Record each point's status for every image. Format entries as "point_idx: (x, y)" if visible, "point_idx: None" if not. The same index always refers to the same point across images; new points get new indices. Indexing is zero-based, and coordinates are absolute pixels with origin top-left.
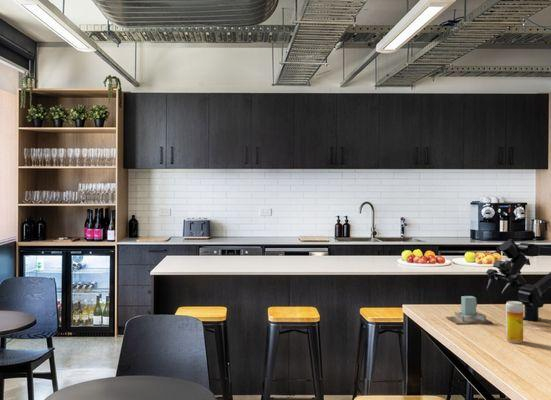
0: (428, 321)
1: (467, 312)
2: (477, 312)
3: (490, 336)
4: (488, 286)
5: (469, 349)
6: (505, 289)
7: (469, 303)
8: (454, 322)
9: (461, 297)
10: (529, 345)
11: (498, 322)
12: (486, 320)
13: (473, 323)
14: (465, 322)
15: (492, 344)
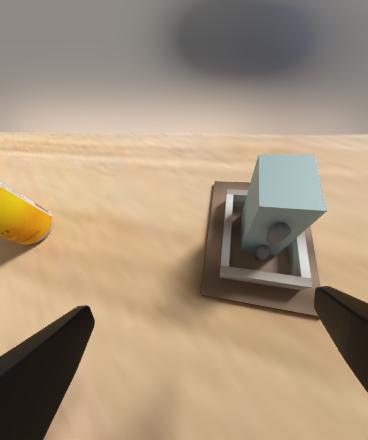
0: (260, 139)
1: (245, 206)
2: (289, 275)
3: (94, 203)
4: (353, 313)
5: (63, 140)
6: (13, 351)
7: (252, 192)
8: (232, 183)
9: (308, 159)
10: (3, 241)
11: (215, 336)
12: (233, 289)
13: (209, 225)
14: (218, 204)
15: (56, 179)
